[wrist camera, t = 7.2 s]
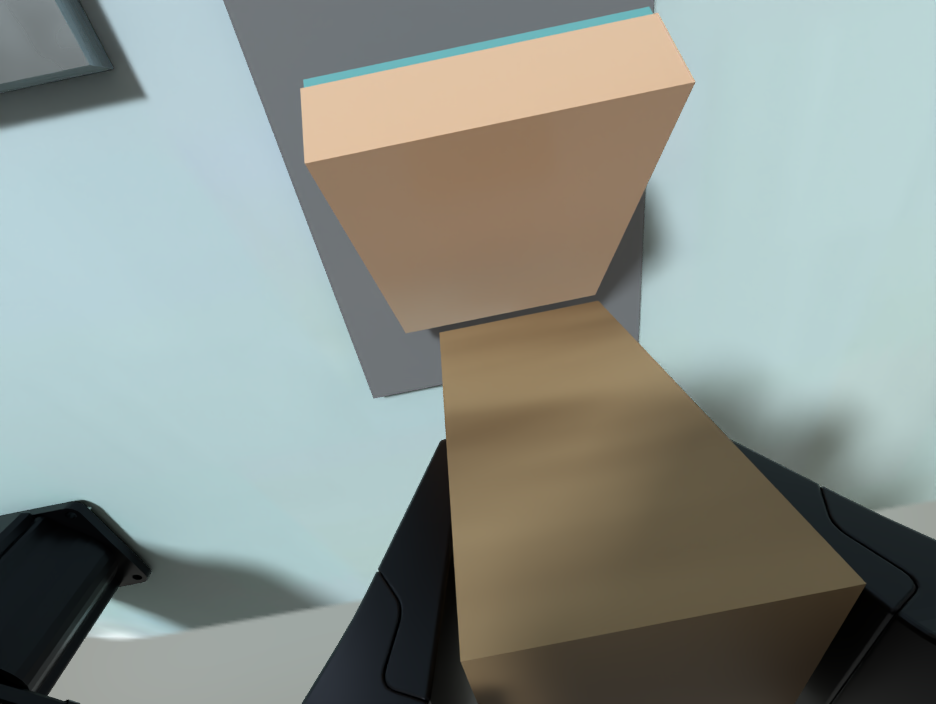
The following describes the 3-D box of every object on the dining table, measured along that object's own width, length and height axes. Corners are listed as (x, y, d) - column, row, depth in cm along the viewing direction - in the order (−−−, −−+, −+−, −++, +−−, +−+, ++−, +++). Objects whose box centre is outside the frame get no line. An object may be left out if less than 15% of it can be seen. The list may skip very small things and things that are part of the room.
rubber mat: (632, 338, 18) (638, 345, 18) (375, 390, 18) (373, 398, 18) (651, -205, 10) (663, -221, 10) (192, -104, 10) (179, -115, 10)
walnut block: (599, 422, 12) (776, 733, 6) (467, 448, 12) (509, 783, 6) (598, 300, 10) (866, 583, 4) (439, 332, 10) (460, 660, 4)
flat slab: (595, 295, 15) (695, 81, 7) (405, 333, 15) (304, 163, 7) (578, 244, 15) (652, 2, 8) (398, 281, 15) (299, 77, 8)
